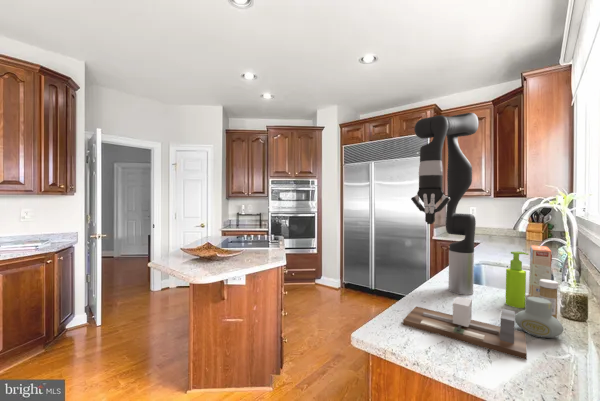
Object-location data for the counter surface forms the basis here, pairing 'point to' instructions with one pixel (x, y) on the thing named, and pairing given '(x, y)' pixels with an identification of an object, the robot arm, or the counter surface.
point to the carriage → (462, 312)
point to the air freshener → (539, 319)
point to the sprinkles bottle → (549, 293)
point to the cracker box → (539, 268)
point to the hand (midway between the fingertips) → (429, 223)
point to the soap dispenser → (516, 282)
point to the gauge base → (473, 330)
